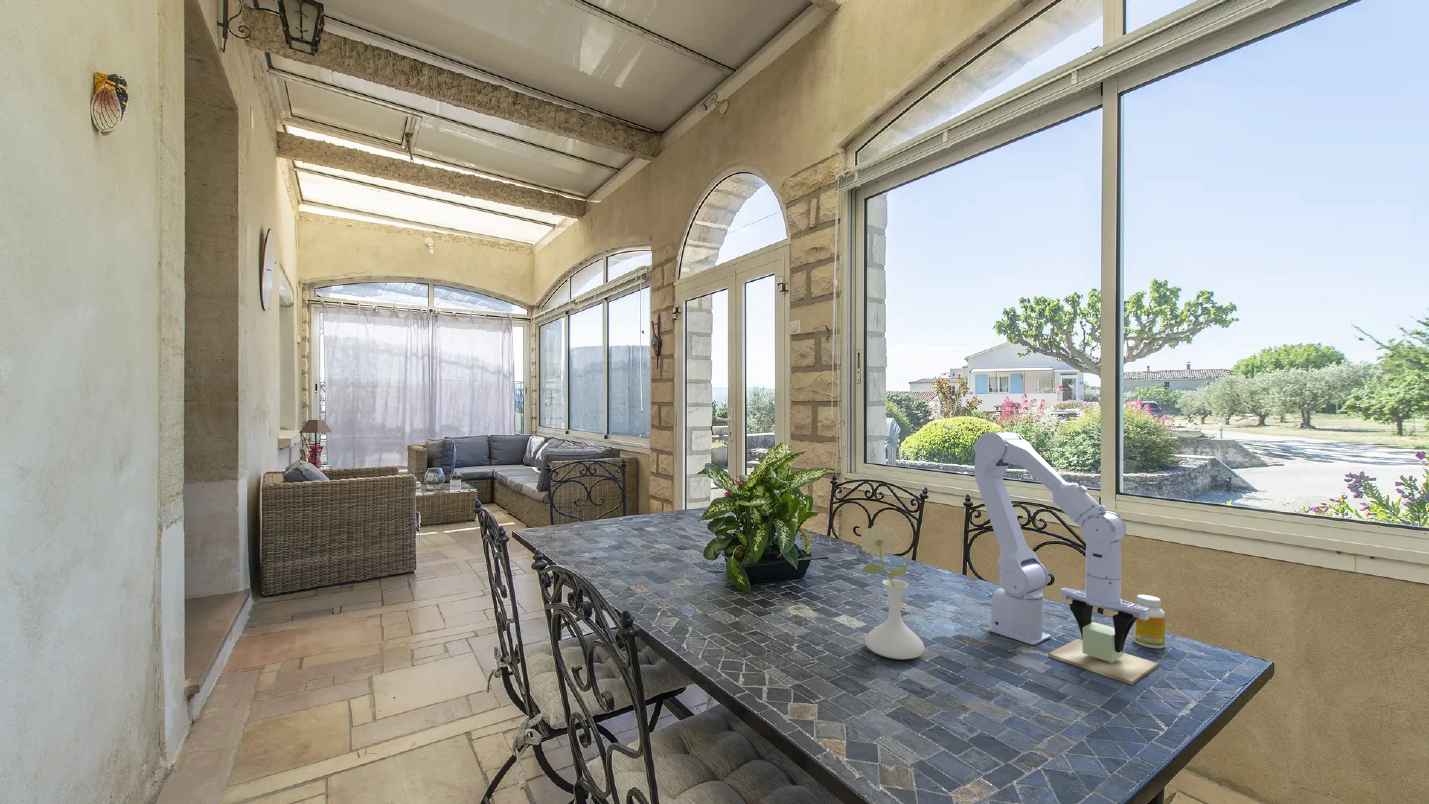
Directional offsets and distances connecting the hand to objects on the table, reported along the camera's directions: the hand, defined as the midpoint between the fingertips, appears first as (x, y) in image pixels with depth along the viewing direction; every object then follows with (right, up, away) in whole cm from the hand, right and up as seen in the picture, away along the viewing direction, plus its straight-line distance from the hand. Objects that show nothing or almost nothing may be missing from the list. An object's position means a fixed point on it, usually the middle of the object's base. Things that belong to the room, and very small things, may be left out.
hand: (1102, 645), depth 111 cm
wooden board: (0, -3, 0) cm, 3 cm away
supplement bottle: (+16, -4, +9) cm, 18 cm away
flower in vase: (-40, -3, +3) cm, 41 cm away
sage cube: (0, -2, 0) cm, 2 cm away
